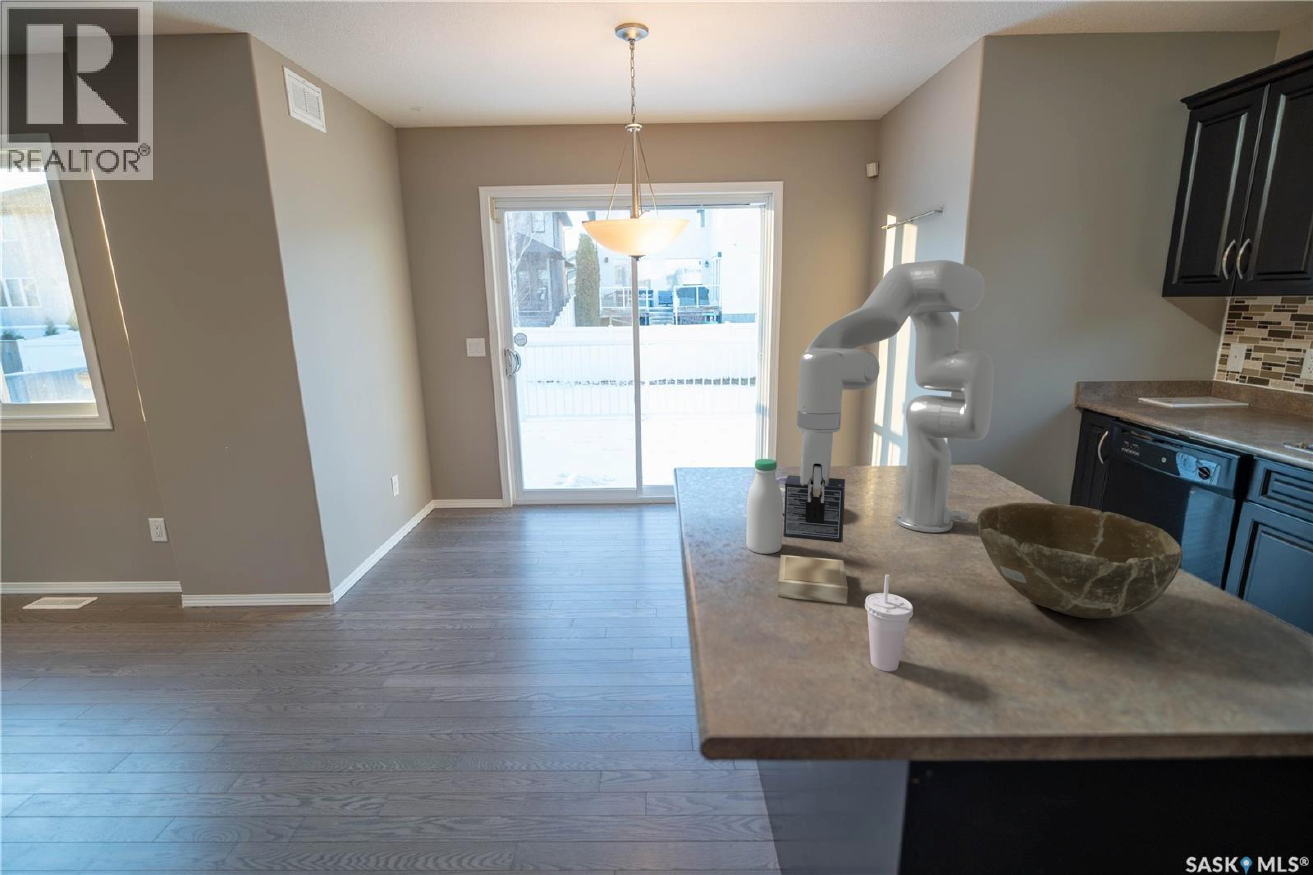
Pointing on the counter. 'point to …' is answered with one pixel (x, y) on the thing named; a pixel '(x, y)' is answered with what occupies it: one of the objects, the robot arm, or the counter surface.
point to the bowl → (1079, 557)
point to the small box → (797, 511)
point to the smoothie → (887, 627)
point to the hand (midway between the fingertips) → (814, 515)
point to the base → (812, 579)
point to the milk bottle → (764, 510)
